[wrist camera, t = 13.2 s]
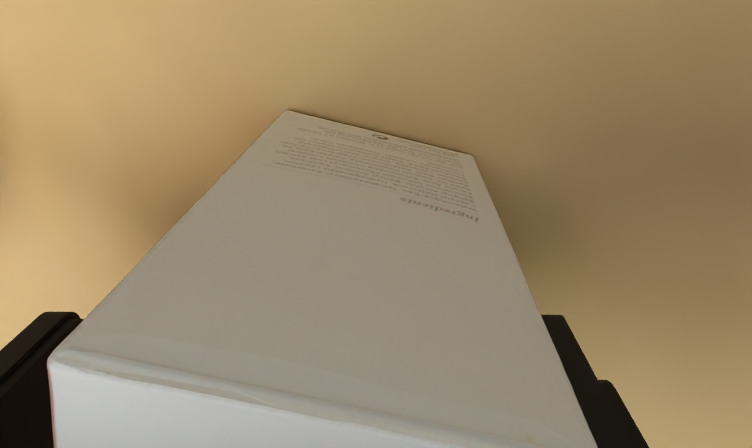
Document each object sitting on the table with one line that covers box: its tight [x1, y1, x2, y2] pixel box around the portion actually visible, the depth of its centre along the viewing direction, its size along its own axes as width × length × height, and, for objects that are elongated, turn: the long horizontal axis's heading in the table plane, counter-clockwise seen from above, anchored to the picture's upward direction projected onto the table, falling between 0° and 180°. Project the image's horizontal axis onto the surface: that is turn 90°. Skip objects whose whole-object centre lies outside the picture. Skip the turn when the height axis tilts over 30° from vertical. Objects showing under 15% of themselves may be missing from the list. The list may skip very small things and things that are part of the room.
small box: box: [47, 110, 598, 448], centre depth 11 cm, size 8×6×10 cm
